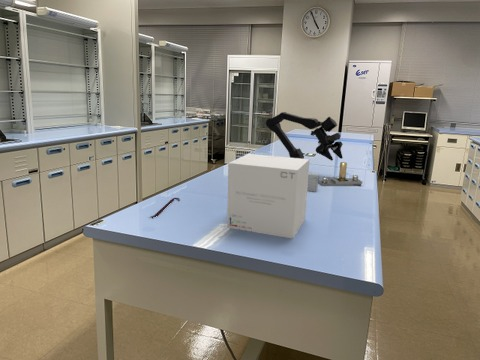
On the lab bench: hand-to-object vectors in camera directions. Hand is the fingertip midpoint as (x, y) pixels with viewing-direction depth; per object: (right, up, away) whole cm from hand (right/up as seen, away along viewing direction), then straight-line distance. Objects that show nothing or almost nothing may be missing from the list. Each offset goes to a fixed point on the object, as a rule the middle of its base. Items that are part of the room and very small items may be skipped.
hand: (337, 159), depth 205 cm
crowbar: (-85, -24, -48) cm, 101 cm away
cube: (-43, -28, -62) cm, 81 cm away
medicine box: (-18, -17, -14) cm, 28 cm away
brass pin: (+3, -14, 0) cm, 14 cm away
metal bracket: (+1, -14, 0) cm, 14 cm away
